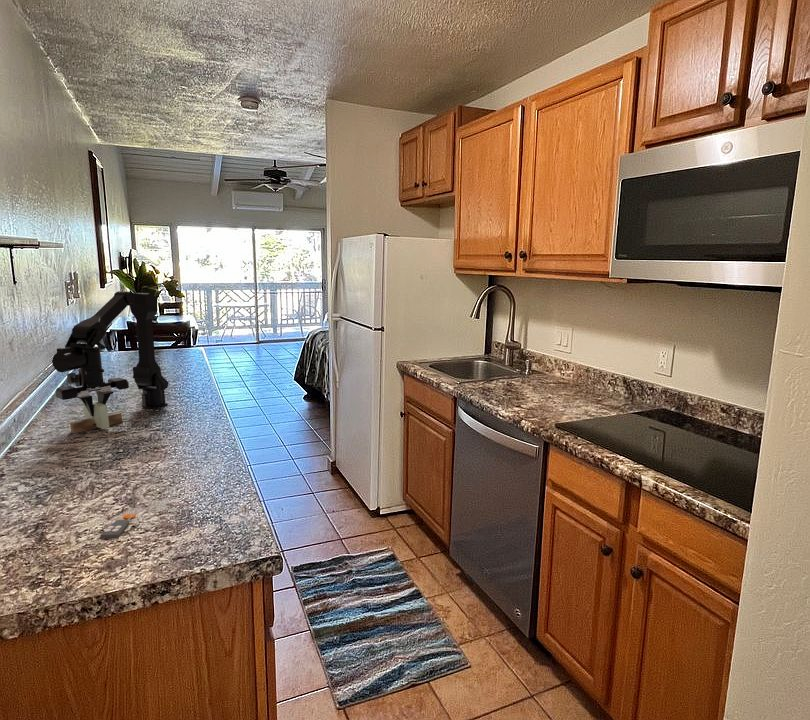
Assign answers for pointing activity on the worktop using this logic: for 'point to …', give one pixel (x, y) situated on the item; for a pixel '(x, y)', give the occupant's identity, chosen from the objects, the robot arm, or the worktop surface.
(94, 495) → the worktop surface
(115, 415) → the walnut rail
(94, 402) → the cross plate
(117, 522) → the key chain
